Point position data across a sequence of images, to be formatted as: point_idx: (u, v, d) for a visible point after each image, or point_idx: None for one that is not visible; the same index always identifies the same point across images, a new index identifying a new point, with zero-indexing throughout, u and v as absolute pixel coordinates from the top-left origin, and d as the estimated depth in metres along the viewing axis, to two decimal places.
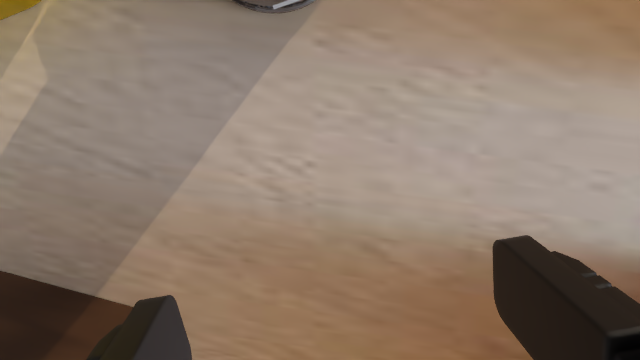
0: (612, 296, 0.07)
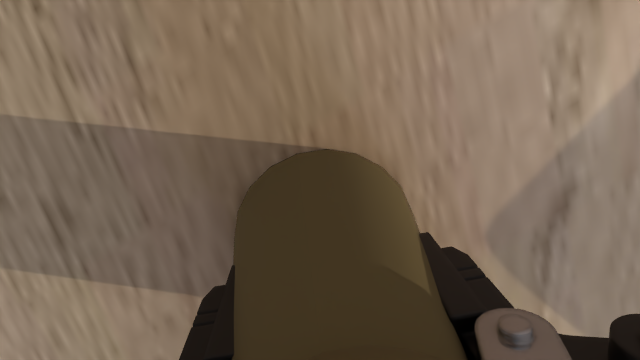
0: (481, 285, 0.08)
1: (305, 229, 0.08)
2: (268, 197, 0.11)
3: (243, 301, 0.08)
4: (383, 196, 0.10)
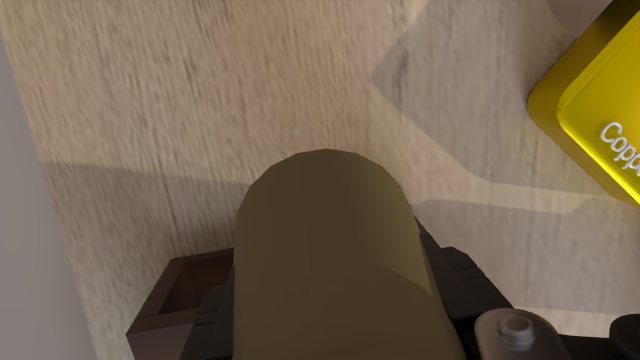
0: (481, 286, 0.08)
1: (305, 228, 0.08)
2: (268, 197, 0.11)
3: (243, 301, 0.08)
4: (383, 196, 0.10)
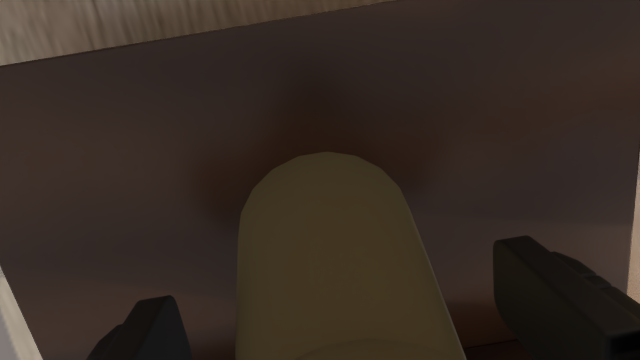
0: (612, 296, 0.07)
1: (307, 229, 0.09)
2: (271, 199, 0.11)
3: (248, 299, 0.08)
4: (382, 197, 0.11)
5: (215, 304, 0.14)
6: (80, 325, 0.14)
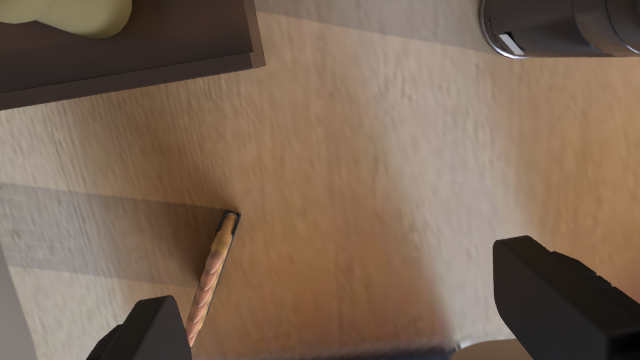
0: (612, 296, 0.07)
1: None
2: None
3: None
4: None
5: (40, 32, 0.30)
6: None
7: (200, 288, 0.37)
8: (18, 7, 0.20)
